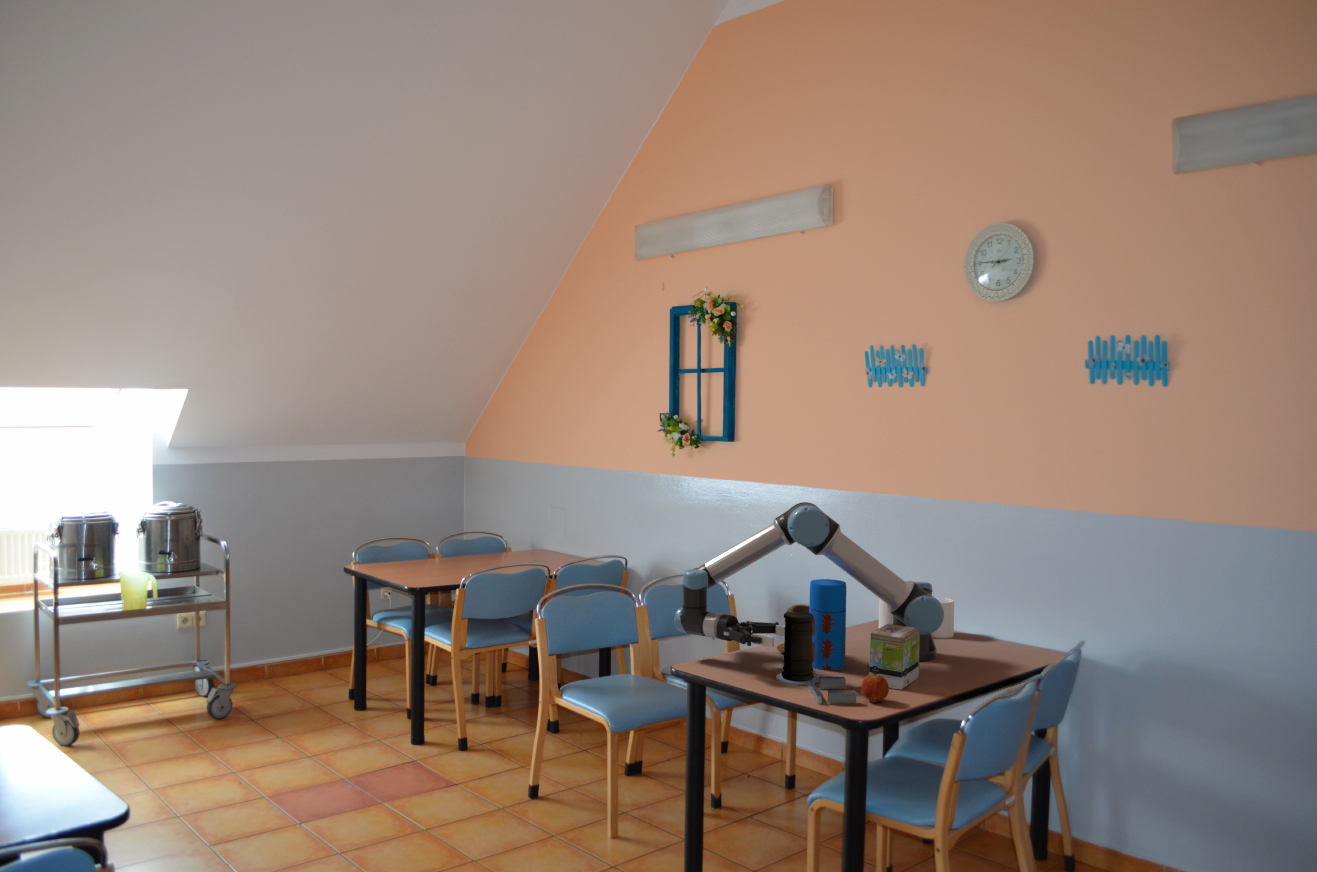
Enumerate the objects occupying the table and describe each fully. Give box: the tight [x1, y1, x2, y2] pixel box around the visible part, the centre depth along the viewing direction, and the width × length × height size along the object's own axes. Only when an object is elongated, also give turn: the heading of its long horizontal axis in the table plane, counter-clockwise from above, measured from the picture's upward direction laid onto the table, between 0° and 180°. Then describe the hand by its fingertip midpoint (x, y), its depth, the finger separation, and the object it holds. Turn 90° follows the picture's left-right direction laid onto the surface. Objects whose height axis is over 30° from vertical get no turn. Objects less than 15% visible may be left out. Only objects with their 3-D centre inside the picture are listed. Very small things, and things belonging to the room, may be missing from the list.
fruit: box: [861, 671, 890, 703], centre depth 249 cm, size 7×7×8 cm
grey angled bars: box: [807, 675, 857, 705], centre depth 254 cm, size 10×15×3 cm, turn 1°
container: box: [781, 611, 815, 681], centre depth 268 cm, size 9×9×18 cm
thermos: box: [808, 578, 847, 671], centre depth 283 cm, size 11×11×25 cm
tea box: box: [868, 624, 920, 691], centre depth 268 cm, size 15×10×15 cm, turn 148°
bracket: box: [878, 597, 955, 639], centre depth 326 cm, size 25×10×12 cm, turn 82°
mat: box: [776, 672, 819, 687], centre depth 269 cm, size 12×12×1 cm
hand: (784, 637), depth 271 cm, fingers open, 13 cm apart
